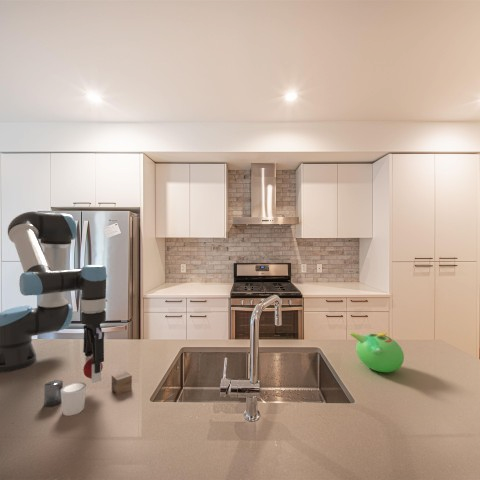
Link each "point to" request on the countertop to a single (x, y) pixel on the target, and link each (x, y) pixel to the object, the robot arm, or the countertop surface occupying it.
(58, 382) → the metal tin
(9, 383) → the countertop surface
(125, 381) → the walnut block
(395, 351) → the toy bird
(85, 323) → the robot arm
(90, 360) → the onion
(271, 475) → the countertop surface
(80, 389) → the white short cylinder
